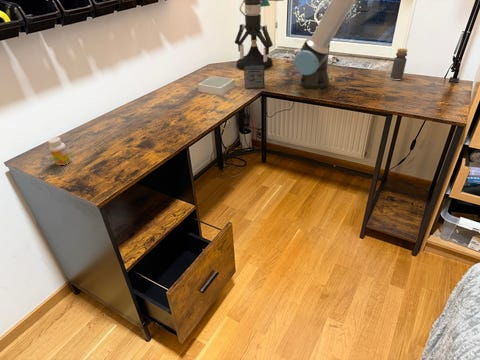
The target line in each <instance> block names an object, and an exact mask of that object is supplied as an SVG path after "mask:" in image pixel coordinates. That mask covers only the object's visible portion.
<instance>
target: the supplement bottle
mask: <svg viewBox="0 0 480 360" xmlns="http://www.w3.org/2000/svg"><path fill="white" fill-rule="evenodd" d="M48 144H49V148H48V150H49V152H50V154H51V156H52V159H53V161H54V163H55V165H56V164H57V165H65V164H67V165H69V164H70V163H71V162H72V158H71V156H70V153H69V150H68V148H67V146H66V143H64V142H62V139H61V137H58V136H57V137H55V136H54V137H52V138H50V139H48ZM70 161H71V162H70ZM69 162H70V163H69ZM68 163H69V164H68ZM57 165H56V166H57ZM65 166H66V165H65Z"/></svg>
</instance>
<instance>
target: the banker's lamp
mask: <svg viewBox="0 0 480 360" xmlns="http://www.w3.org/2000/svg"><path fill="white" fill-rule="evenodd" d="M244 4H245V0H242V2H241V4H240V6H239V11H240V13H241V14H242V15H243V16H244V17H245V15H246V14H245V12H244V11H243V10H242V7H243V5H244ZM270 6H271V3H270V2H269V1H268V0H261V7H270ZM257 38H258V37H257V36H256V35H255V36H254V35H250V42H251V43H250V47H249V50H248V53H247V54H246V55H244V58H242V59H240V58H239V59H238V60H236V63H235V67H236V69H238V70H241V71H244V67H245V66H262V65H264V71H266V70H268V68H269V69H270V68H271V67H273V66H274V62H273V59H272V57H269V56H267V61H266V62H264V54H262V53H261V52H260V49H259V47H258V44H257V41H258V39H257Z"/></svg>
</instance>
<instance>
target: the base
mask: <svg viewBox="0 0 480 360" xmlns="http://www.w3.org/2000/svg"><path fill="white" fill-rule="evenodd" d="M197 86H198V92H199V93H204V94H209V95H215V96H223V95H225V94H226V93H227V92H229V91H231V90H232V89H233V88H235V87H236V81H235V78H229V77H224V76H223V77H221V76H216V75H215V76H214V75H212V76H211V77H209V78H207V79H205V80H203V81H202V82H200V83H198V84H197Z"/></svg>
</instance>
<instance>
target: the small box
mask: <svg viewBox="0 0 480 360" xmlns="http://www.w3.org/2000/svg"><path fill="white" fill-rule="evenodd" d="M243 77H244V78H243V79H244V89H245V90H247V89H249V90H250V89H252V90H253V89H254V90H255V89H265V85H266V84H265V81H266V80H265V70H264V65H262V66H245V67H244V70H243Z"/></svg>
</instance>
